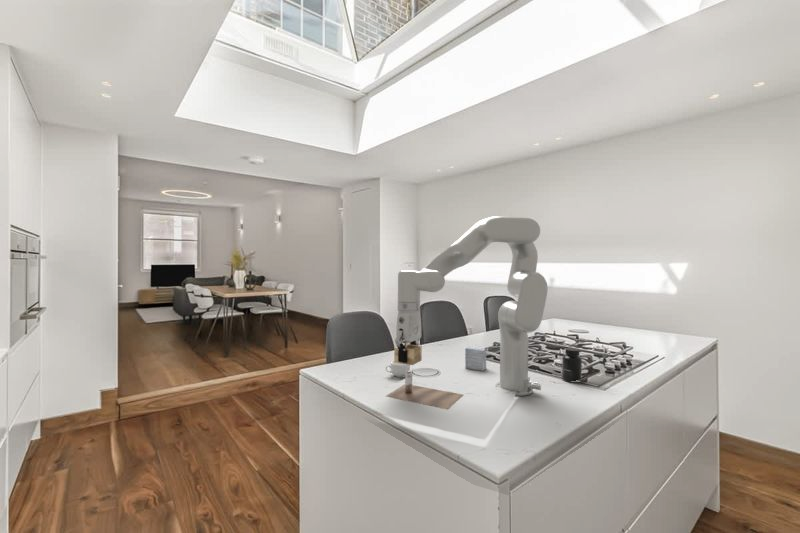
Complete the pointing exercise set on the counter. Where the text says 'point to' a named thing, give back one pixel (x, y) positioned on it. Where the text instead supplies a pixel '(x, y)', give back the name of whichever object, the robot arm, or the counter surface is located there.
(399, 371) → the teacup
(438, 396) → the walnut board
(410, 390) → the steel rod
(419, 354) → the wooden storage bin
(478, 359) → the medicine box
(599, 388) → the counter surface
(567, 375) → the supplement bottle
